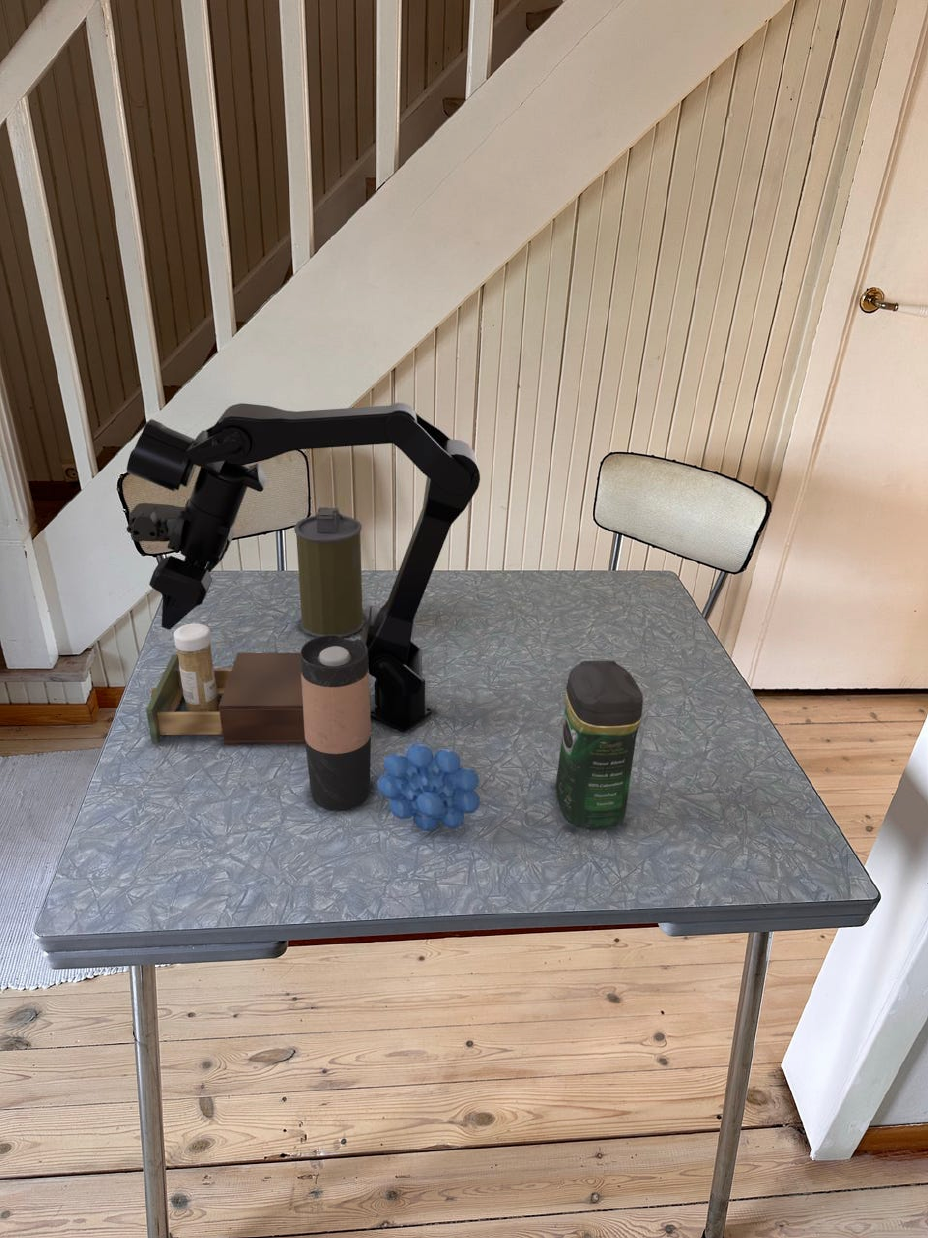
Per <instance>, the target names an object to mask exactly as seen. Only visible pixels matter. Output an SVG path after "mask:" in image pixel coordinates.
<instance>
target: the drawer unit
mask: <svg viewBox="0 0 928 1238" xmlns="http://www.w3.org/2000/svg"><path fill="white" fill-rule="evenodd" d="M231 669H232V670H231V673H230V676H229V679H228V681H227V684H226V687H225V690H224V693H223V695H222V696H221V698H220V700H219V703H218V705H219V711H220V719H221V727H222V734H223V735H222V741H223V745H224V746H226V745H227V746H228V745H229V746H230V745H231V746H232V745H233V746H234V745H238V746H239V745H241V746H243V745H306V743H305V731H304V713H303V696H302V679H301V662H300V652H237V653H236V656H235V659H234V662H233V665H232V667H231Z"/></svg>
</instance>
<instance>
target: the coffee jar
mask: <svg viewBox="0 0 928 1238" xmlns="http://www.w3.org/2000/svg"><path fill="white" fill-rule="evenodd" d="M643 696H644V695H643V693H642V691H641V689H640V687H639V685H638V683H637V681H636V680H635V679H634V676H633V675H632V674H631V673H630V672H629V671H628V670H627V669H626V668H625V667H623V666H621V665H620V664H618V663H617V662H616V661H615V660H603V659H601V660H599V659H597V660H596V659H595V660H582V661H580V663H578V664H576V665H575V666H574V667H573V668H572V669H571V671H570V672H569V674H568V678H567V682H566V688H565V703H564V704H565V705H564V719H563V727H562V735H561V743H560V751H559V757H558V765H557V770H556V771H557V772H556V778H555V796H556V799H557V802H558V805H559V808H560V811H561V813H562V815H563V817H564V818H565V820H566V821H567V823H569V824H570V825H571V826H575V827H577V828H581V829H587V830H593V831H594V830H597V831H598V830H599V831H600V830H606V829H610V828H614V827H616V826H619V825H620V824H622V822H624V820H625V817H626V813H627V807H628V806H627V805H628V800H629V792H630V784H631V777H632V768H633V762H634V757H635V750H636V749H635V748H636V744H637V743H636V741H637V735H638V731H639V728H640V725H641V721H642V716H643V704H644V697H643Z"/></svg>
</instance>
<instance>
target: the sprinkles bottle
mask: <svg viewBox="0 0 928 1238" xmlns="http://www.w3.org/2000/svg"><path fill="white" fill-rule="evenodd" d="M211 636H212V635H211V629H210V627H208V626H207V625H205V624H204V623H203V624H202V623H187V624H183V625H181V626H178V628H176V629H175V630H174V632H173V641H174V646H175V649H176V651H177V655H178V658H179V669H180V675H181V682H182V688H183V694H184V696H183V699H184V702H185V708H186V712H220V711H219V699H218V696H217V687H216V681H215V673H214V669H215V667H214V662H213V655H212V654H213V653H212V647H211V645H212V637H211Z"/></svg>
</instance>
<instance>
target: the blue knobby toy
mask: <svg viewBox="0 0 928 1238" xmlns="http://www.w3.org/2000/svg"><path fill="white" fill-rule="evenodd" d="M405 755H406V756H404V755H403V754H401V753H398V752H397V753H390V754H388V755H387V756H386V757H385V759H384V762H383V767H384V772H385V774H382V775H381V776H380V777H379V778H378V781H377V783H376V784H377V785H376V786H377V791H378V792H379V794H381V796H383V797H384V798H386V799H389V803H388V807H389V811H390V812H391V815H393V816H394V817H396V818H397V819H399V820H408V819H411V818H412V819H413V823H414V824H415V826H416V827H417V828H418V829H421V830H423V831H425V832H426V831H427V832H428V831H434V830H435V829H436V828H437V827H438V825H439V822H440V823H441V824H442V825H443V826H444V827H446V828H448V829H457V828H459V827H461V826H462V825H463V823H464V821H465V819H466V818H465V814H474V813H475V812H477V811H478V810H479V808H480V805H481V799H480V796H479V794H477V793H476V791H475V790H476V789H477V788H478V786H479V784H480V783H479V782H480V778H479V775H478V774H477V773H476V771H475V769H474V770H473V769H472V768H470V767H468V766H461V764H462V763H461V758H460V756H459V755H458V754H457V753H456V752H455V751H454V750H451V749H449V748H443V749H439V750H438V751H436V752H435V754H434V753H433V751H432V749H430V747H428V746H427V745H425V744H423V743H413V744H411V745H410V746H409V747H408V748H407V751H406V754H405Z"/></svg>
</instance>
